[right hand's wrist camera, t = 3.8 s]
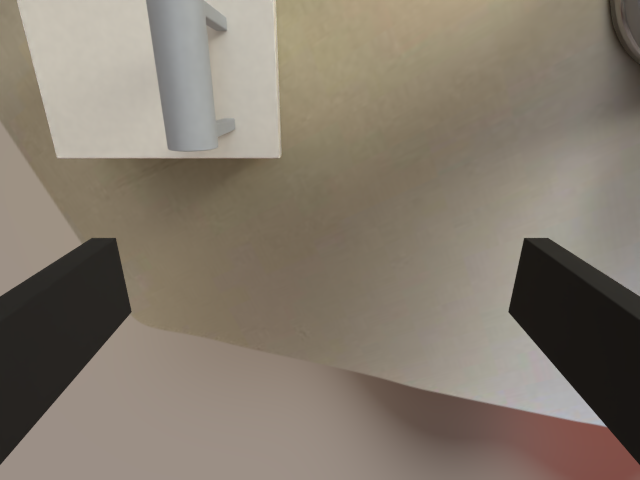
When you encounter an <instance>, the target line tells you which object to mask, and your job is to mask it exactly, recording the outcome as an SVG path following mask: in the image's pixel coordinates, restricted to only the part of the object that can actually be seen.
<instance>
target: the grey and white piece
mask: <svg viewBox="0 0 640 480" xmlns="http://www.w3.org/2000/svg"><path fill="white" fill-rule="evenodd" d="M17 4H18V8H19V11H20V15H21V19H22V23H23V27H24V31H25V35H26V39H27V43H28V47H29V50H30V54H31V58H32V62H33V66H34V70H35V74H36V78H37V82H38V86H39V89H40V93H41V97H42V101H43V105H44V109H45V113H46V117H47V121H48V125H49V128H50V132H51V136H52V140H53V144H54V148H55V152H56V156H57V158H59V159H73V158H280V157H281V155H282V148H281V122H280V96H279V70H278V44H277V18H276V0H17Z"/></svg>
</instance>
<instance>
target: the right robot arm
mask: <svg viewBox="0 0 640 480" xmlns="http://www.w3.org/2000/svg"><path fill="white" fill-rule="evenodd" d="M610 7H611V16H612V21H613V25H614V29H615V32H616V34H617V37H618V39H619V41H620V43H621V45H622V46H623V48H624V49H625V51H626V52H627V53H628V55H629V56H630V57H631V58H632V59H633V60H634V61H636V62H637V63H638V64H640V0H610ZM130 313H131V307H130V302H129V298H128V293H127V288H126V284H125V279H124V274H123V270H122V265H121V260H120V256H119V251H118V246H117V242H116V238H91V239H90V240H88V241H87V242H85V243H83V244H82V245H80V246H79V247H77V248H76V249H74V250H72V251H71V252H69V253H68V254H66V255H65V256H63V257H61V258H60V259H58V260H57V261H55V262H54V263H52V264H51V265H49V266H47V267H46V268H44V269H43V270H41V271H40V272H38V273H36V274H35V275H33V276H32V277H30V278H29V279H27V280H25V281H24V282H22V283H21V284H19V285H18V286H16V287H14V288H13V289H11V290H10V291H8V292H7V293H5V294H4V295H2V296H0V464H1V463H2V462H3V461H4V460H5V459H6V457H7V456H8V455H9V454H10V453H11V452H12V451H13V449H14V448H15V447H16V446H17V445H18V444H19V442H20V441H21V440H22V439H23V438H24V437H25V435H26V434H27V433H28V432H29V431H30V430H31V428H32V427H33V426H34V425H35V424H36V423H37V421H38V420H39V419H40V418H41V417H42V416H43V414H44V413H45V412H46V411H47V410H48V409H49V407H50V406H51V405H52V404H53V403H54V402H55V400H56V399H57V398H58V397H59V396H60V395H61V393H62V392H63V391H64V390H65V389H66V388H67V386H68V385H69V384H70V383H71V382H72V381H73V379H74V378H75V377H76V376H77V375H78V374H79V373H80V371H81V370H82V369H83V368H84V367H85V365H86V364H87V363H88V362H89V361H90V360H91V359H92V357H93V356H94V355H95V354H96V353H97V352H98V350H99V349H100V348H101V347H102V346H103V345H104V343H105V342H106V341H107V340H108V339H109V338H110V336H111V335H112V334H113V333H114V332H115V331H116V329H117V328H118V327H119V326H120V325H121V324H122V322H123V321H124V320H125V319H126V318H127V317H128V315H129V314H130ZM509 313H510V314H511V315H512V317H513V318H514V319H515V320H516V321H517V322H518V324H519V325H520V326H521V327H522V328H523V329H524V331H525V332H526V333H527V334H528V335H529V336H530V338H531V339H532V340H533V341H534V342H535V343H536V345H537V346H538V347H539V348H540V349H541V350H542V352H543V353H544V354H545V355H546V356H547V357H548V359H549V360H550V361H551V362H552V363H553V364H554V366H555V367H556V368H557V369H558V370H559V371H560V373H561V374H562V375H563V376H564V377H565V378H566V380H567V381H568V382H569V383H570V384H571V385H572V386H573V388H574V389H575V390H576V391H577V392H578V393H579V395H580V396H581V397H582V398H583V399H584V400H585V402H586V403H587V404H588V405H589V406H590V407H591V409H592V410H593V411H594V412H595V413H596V414H597V416H598V417H599V418H600V419H601V420H602V421H603V423H604V424H605V425H606V426H607V427H608V428H609V430H610V431H611V432H612V433H613V434H614V435H615V437H616V438H617V439H618V440H619V441H620V442H621V444H622V445H623V446H624V447H625V448H626V449H627V451H628V452H629V453H630V454H631V455H632V456H633V457H634V459H635V460H636V461H637V462H638V463H639V464H640V296H638V295H636V294H635V293H633V292H632V291H630V290H629V289H627V288H626V287H624V286H622V285H621V284H619V283H618V282H616V281H615V280H613V279H611V278H610V277H608V276H607V275H605V274H604V273H602V272H600V271H599V270H597V269H596V268H594V267H593V266H591V265H589V264H588V263H586V262H585V261H583V260H582V259H580V258H579V257H577V256H575V255H574V254H572V253H571V252H569V251H568V250H566V249H564V248H563V247H561V246H560V245H558V244H557V243H555V242H553V241H552V240H550V239H549V238H524V242H523V246H522V251H521V256H520V260H519V265H518V270H517V274H516V279H515V284H514V288H513V293H512V298H511V302H510V307H509Z"/></svg>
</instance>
